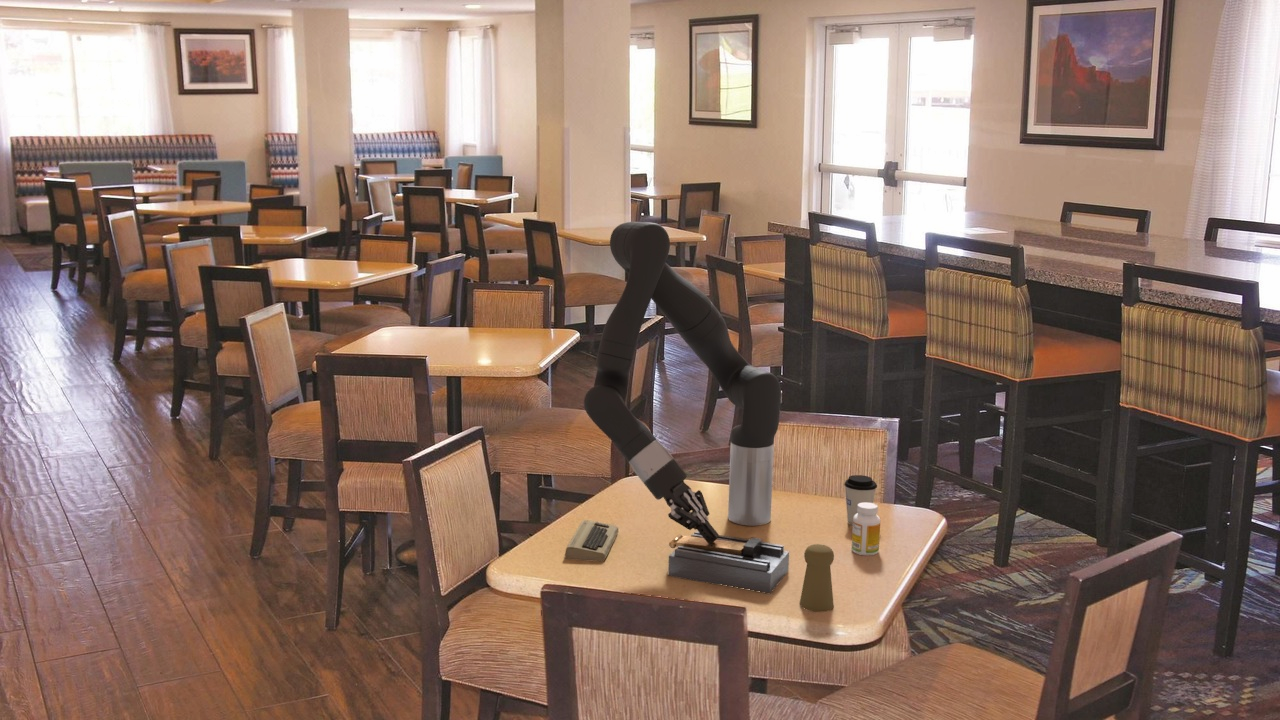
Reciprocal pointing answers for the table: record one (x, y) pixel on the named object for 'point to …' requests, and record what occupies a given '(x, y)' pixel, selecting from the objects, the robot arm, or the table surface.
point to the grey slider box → (732, 564)
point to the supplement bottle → (866, 529)
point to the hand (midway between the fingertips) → (714, 540)
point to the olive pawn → (817, 579)
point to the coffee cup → (858, 493)
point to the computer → (591, 541)
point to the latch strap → (702, 544)
